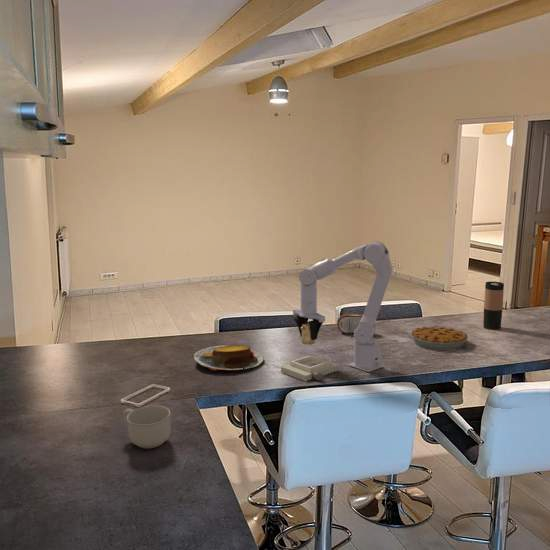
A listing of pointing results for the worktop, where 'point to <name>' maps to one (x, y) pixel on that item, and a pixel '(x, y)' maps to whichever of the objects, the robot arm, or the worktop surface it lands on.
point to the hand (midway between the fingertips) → (308, 337)
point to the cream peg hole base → (309, 368)
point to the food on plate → (228, 357)
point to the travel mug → (493, 305)
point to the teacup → (148, 425)
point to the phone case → (143, 391)
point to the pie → (439, 338)
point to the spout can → (306, 334)
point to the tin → (349, 322)
